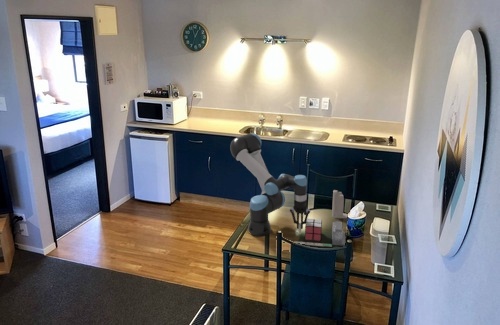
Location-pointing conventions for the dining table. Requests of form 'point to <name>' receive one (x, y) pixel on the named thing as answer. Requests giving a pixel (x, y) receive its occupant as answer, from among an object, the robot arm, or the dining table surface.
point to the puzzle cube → (313, 229)
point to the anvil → (338, 234)
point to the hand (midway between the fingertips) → (299, 232)
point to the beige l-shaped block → (338, 205)
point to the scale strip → (315, 244)
